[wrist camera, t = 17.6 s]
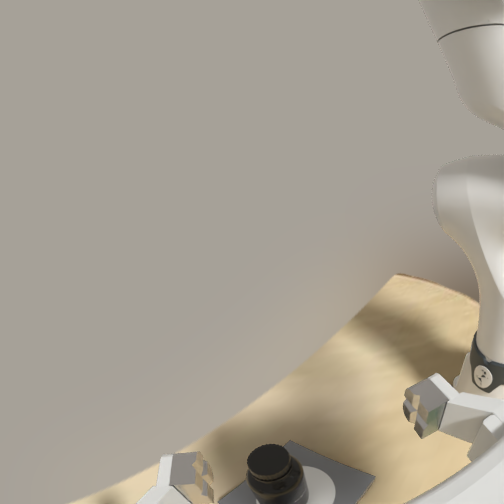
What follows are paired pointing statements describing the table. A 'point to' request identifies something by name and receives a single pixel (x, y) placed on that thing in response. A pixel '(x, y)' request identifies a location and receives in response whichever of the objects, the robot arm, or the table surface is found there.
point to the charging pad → (316, 480)
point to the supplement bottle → (276, 476)
